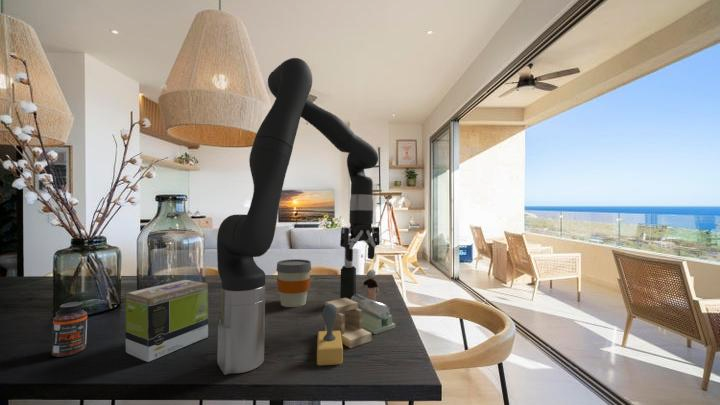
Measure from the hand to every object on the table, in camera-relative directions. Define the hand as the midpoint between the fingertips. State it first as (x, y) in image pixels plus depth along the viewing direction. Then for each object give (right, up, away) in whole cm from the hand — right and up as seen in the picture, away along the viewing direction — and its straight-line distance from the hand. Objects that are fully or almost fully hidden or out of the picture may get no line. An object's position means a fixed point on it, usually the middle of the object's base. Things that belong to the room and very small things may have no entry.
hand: (360, 259), depth 95 cm
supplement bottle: (-69, -18, -24) cm, 76 cm away
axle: (+3, -13, -4) cm, 14 cm away
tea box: (-48, -18, -20) cm, 55 cm away
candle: (-5, -19, +15) cm, 24 cm away
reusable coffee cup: (-25, -19, +14) cm, 34 cm away
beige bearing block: (-4, -18, -14) cm, 23 cm away
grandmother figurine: (+4, -19, +14) cm, 24 cm away
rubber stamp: (-7, -18, -24) cm, 31 cm away
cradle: (+3, -19, -5) cm, 19 cm away
